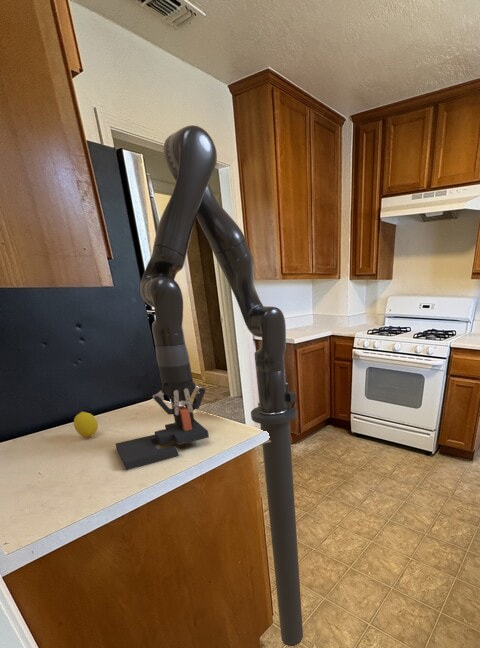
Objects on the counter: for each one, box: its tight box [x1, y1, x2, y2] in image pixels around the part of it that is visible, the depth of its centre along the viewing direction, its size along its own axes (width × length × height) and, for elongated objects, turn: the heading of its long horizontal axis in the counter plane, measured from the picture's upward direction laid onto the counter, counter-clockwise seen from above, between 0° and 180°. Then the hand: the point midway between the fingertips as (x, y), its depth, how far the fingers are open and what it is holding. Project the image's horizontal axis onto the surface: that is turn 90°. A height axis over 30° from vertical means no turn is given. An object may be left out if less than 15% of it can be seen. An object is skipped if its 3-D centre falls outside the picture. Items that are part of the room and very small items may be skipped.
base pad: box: [115, 434, 179, 471], centre depth 92 cm, size 12×14×2 cm
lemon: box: [73, 411, 99, 439], centre depth 101 cm, size 6×6×8 cm
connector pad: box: [154, 405, 210, 446], centre depth 94 cm, size 12×12×8 cm
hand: (185, 425), depth 96 cm, fingers closed on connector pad
